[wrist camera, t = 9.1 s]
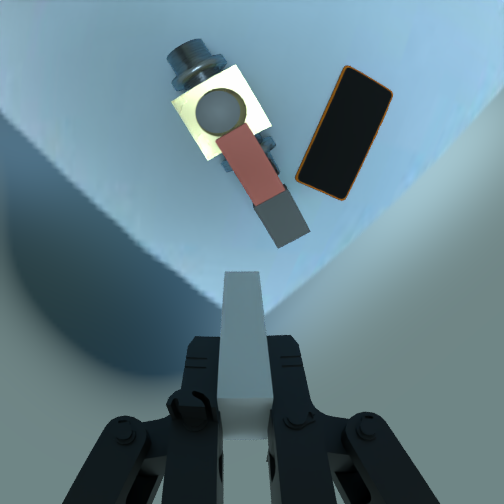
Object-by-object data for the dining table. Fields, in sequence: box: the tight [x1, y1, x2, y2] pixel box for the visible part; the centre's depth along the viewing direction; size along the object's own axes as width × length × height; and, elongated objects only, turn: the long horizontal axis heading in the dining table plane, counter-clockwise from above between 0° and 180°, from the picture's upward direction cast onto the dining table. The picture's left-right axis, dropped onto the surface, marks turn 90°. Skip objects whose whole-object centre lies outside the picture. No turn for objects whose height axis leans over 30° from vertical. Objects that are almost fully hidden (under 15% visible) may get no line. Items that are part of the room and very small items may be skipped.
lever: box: [196, 91, 310, 248], centre depth 25 cm, size 4×15×4 cm, turn 30°
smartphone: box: [295, 66, 393, 201], centre depth 33 cm, size 8×17×1 cm, turn 158°
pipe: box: [167, 39, 280, 175], centre depth 28 cm, size 18×7×8 cm, turn 29°
